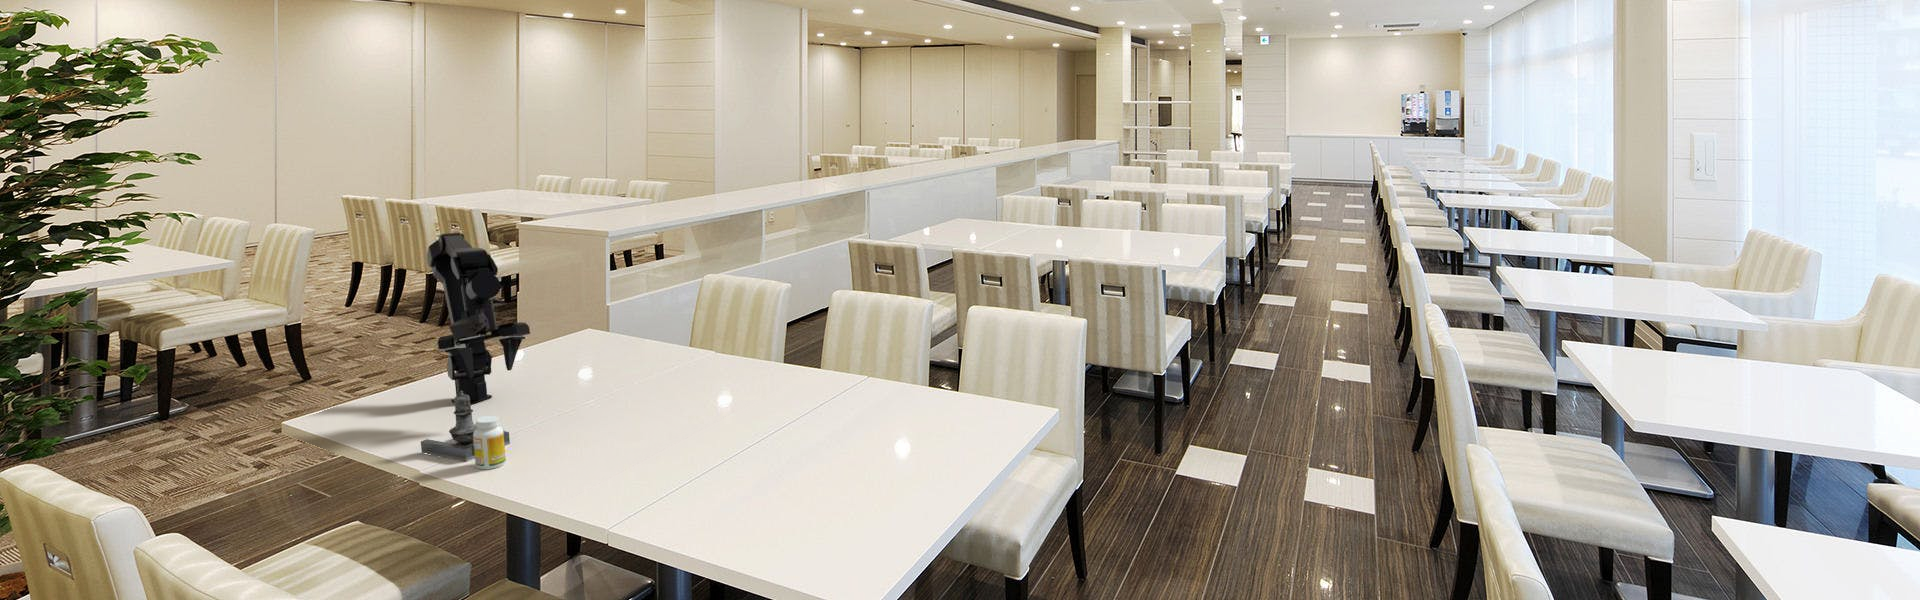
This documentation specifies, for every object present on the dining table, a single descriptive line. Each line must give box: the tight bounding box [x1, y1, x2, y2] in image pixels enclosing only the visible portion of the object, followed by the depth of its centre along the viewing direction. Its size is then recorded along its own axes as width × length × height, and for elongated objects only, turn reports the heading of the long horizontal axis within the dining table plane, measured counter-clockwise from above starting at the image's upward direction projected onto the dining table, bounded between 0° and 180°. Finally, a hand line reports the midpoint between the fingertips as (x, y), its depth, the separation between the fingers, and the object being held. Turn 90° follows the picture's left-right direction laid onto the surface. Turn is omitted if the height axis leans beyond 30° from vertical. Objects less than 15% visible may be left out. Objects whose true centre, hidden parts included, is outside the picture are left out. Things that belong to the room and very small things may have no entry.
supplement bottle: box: [473, 415, 507, 470], centre depth 180 cm, size 5×5×10 cm
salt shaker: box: [448, 390, 478, 449], centre depth 189 cm, size 6×6×12 cm
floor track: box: [420, 430, 511, 462], centre depth 189 cm, size 12×11×3 cm
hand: (490, 374), depth 203 cm, fingers open, 9 cm apart
